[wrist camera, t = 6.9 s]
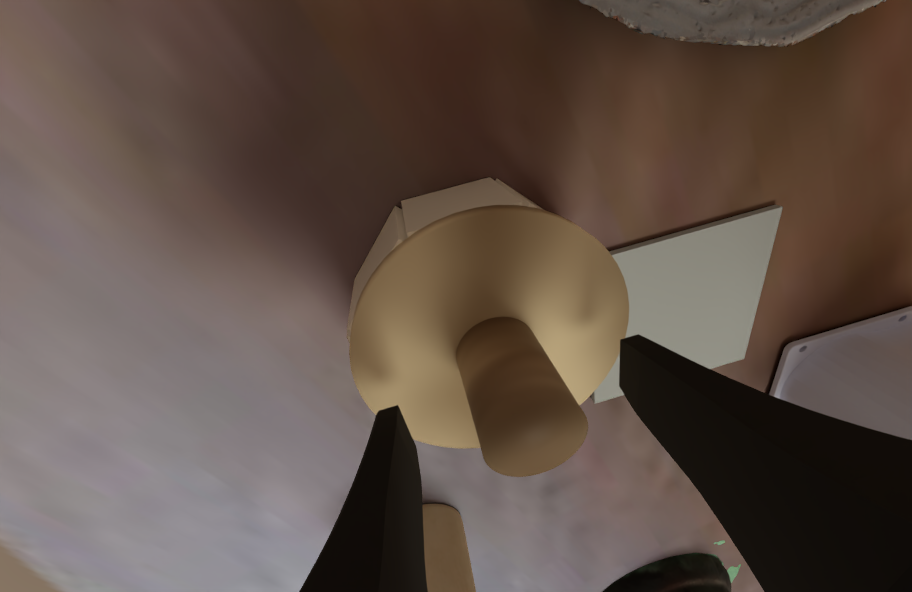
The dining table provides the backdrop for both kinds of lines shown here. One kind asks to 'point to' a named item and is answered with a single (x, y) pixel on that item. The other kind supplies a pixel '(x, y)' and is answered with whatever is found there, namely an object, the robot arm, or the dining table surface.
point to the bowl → (430, 221)
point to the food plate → (731, 18)
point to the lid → (492, 334)
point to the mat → (697, 289)
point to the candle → (446, 550)
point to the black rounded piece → (679, 575)
